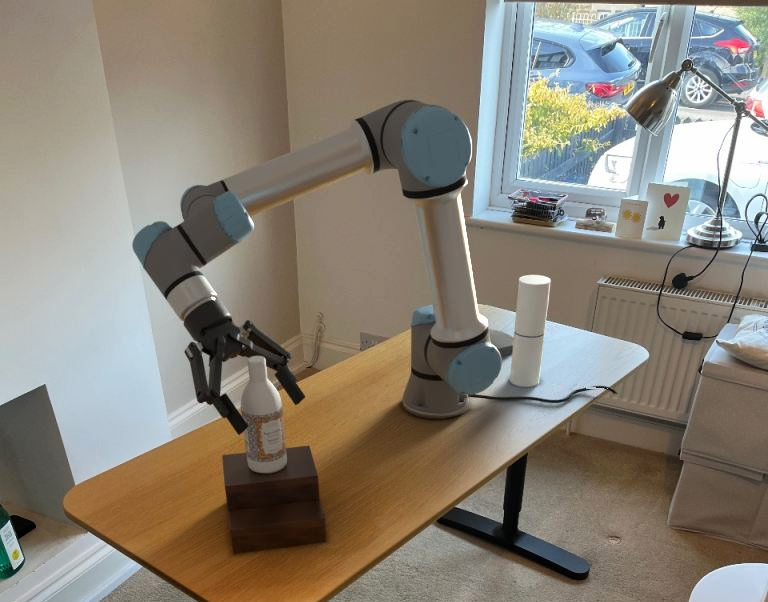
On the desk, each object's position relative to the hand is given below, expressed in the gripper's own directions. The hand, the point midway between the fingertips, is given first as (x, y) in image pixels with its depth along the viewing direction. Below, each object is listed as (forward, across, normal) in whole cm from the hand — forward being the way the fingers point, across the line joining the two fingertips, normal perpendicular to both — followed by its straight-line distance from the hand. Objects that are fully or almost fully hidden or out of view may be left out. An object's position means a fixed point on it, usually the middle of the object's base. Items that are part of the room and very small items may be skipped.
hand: (273, 415), depth 129 cm
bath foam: (+6, 0, -9) cm, 11 cm away
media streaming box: (+6, -91, -23) cm, 94 cm away
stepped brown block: (+14, +2, -14) cm, 21 cm away
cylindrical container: (+19, -79, -10) cm, 82 cm away
